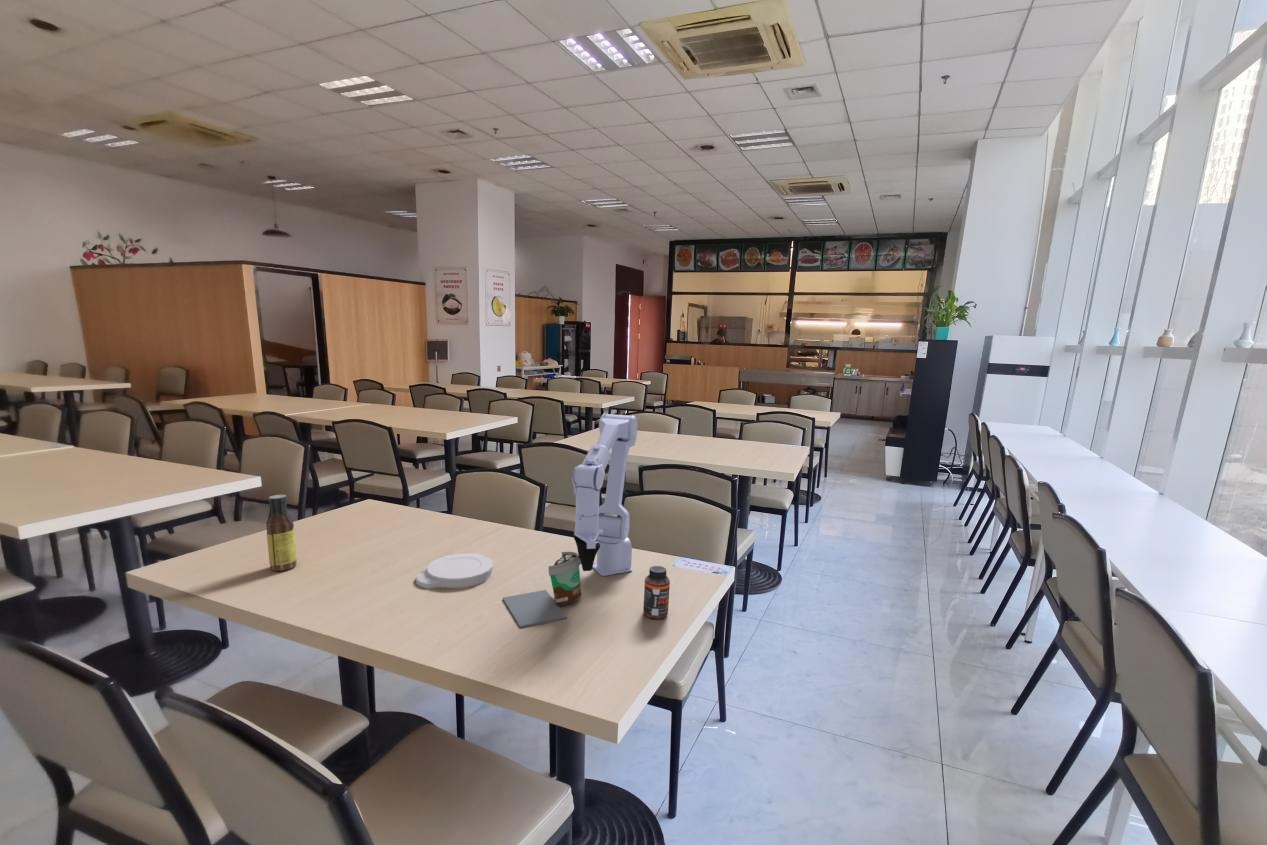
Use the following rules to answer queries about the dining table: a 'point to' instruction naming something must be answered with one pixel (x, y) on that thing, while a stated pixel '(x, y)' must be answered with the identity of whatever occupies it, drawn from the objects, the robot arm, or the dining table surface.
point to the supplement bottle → (656, 593)
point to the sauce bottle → (280, 535)
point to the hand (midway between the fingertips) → (585, 566)
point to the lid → (456, 571)
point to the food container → (566, 578)
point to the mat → (533, 608)
